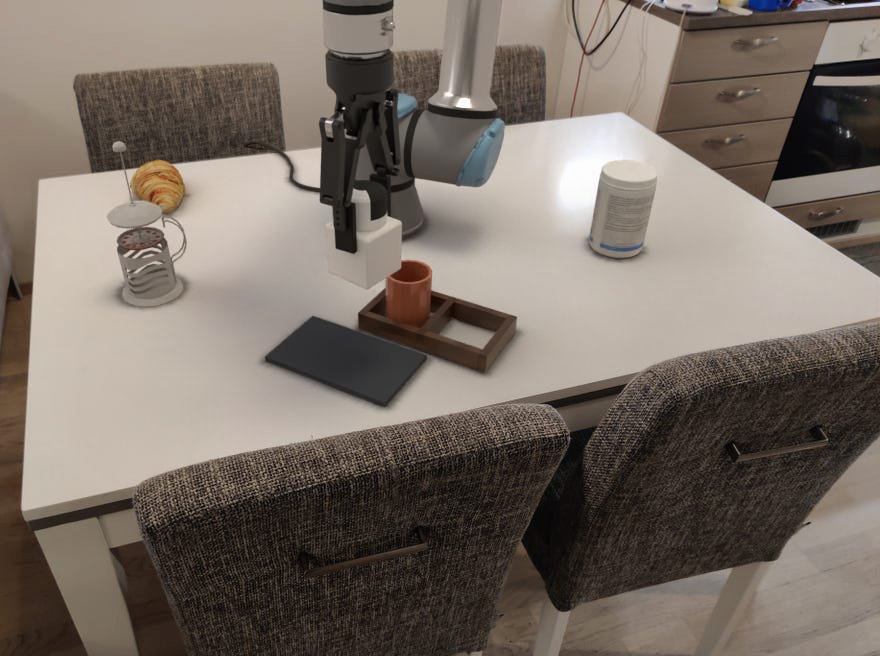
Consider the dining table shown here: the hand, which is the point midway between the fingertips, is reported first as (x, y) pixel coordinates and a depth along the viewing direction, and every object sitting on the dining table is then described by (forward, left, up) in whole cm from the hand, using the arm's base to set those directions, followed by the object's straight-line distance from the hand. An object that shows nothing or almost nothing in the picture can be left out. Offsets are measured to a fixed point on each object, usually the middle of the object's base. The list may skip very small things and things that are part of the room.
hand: (363, 235), depth 93 cm
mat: (-2, -2, -20) cm, 20 cm away
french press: (-39, -2, -20) cm, 44 cm away
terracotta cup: (+1, +11, -20) cm, 23 cm away
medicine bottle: (0, 0, -5) cm, 5 cm away
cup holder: (+6, +11, -20) cm, 23 cm away
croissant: (-64, +24, -20) cm, 71 cm away
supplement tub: (+22, +50, -20) cm, 58 cm away
